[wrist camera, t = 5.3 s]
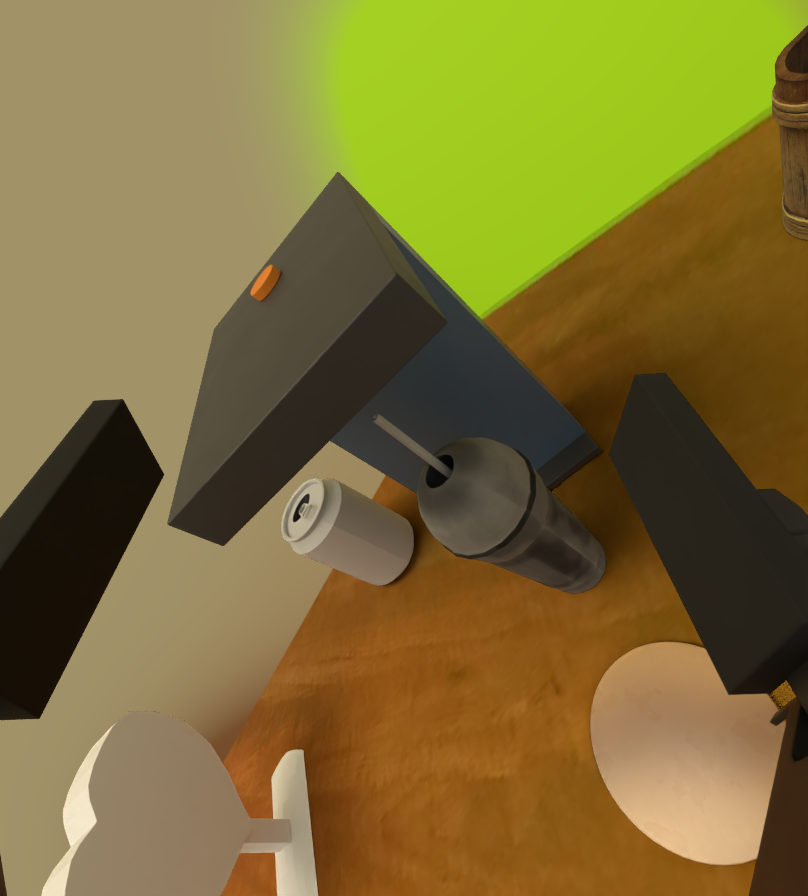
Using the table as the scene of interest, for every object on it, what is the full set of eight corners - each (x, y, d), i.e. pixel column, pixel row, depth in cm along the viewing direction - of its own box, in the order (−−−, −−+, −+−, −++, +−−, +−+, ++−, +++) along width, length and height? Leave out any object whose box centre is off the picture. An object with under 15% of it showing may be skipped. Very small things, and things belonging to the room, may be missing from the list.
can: (389, 511, 53) (303, 464, 46) (431, 529, 47) (338, 478, 40) (358, 573, 52) (264, 534, 45) (397, 600, 46) (295, 559, 39)
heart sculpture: (270, 756, 48) (79, 734, 38) (301, 728, 46) (111, 698, 36) (281, 976, 35) (1, 1030, 25) (323, 946, 34) (46, 991, 24)
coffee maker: (697, 562, 29) (382, 257, 14) (531, 665, 33) (150, 519, 18) (562, 403, 43) (329, 162, 28) (456, 490, 47) (205, 324, 32)
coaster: (864, 834, 20) (863, 834, 20) (646, 886, 24) (642, 887, 23) (715, 613, 27) (713, 611, 27) (567, 681, 31) (564, 680, 31)
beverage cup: (559, 634, 33) (339, 528, 22) (517, 552, 38) (325, 435, 27) (648, 575, 31) (454, 422, 19) (590, 497, 36) (413, 345, 25)
